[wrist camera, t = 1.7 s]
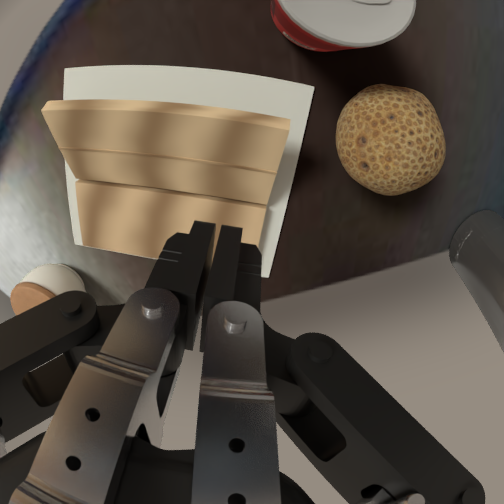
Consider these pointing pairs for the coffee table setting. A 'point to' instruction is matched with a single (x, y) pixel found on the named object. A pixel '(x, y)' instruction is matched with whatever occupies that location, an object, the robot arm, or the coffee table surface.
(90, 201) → the laid plank
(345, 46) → the canned food
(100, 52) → the coffee table surface
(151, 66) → the underlay mat
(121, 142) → the loose plank
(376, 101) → the natural sponge
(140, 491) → the robot arm
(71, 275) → the lidded jar
